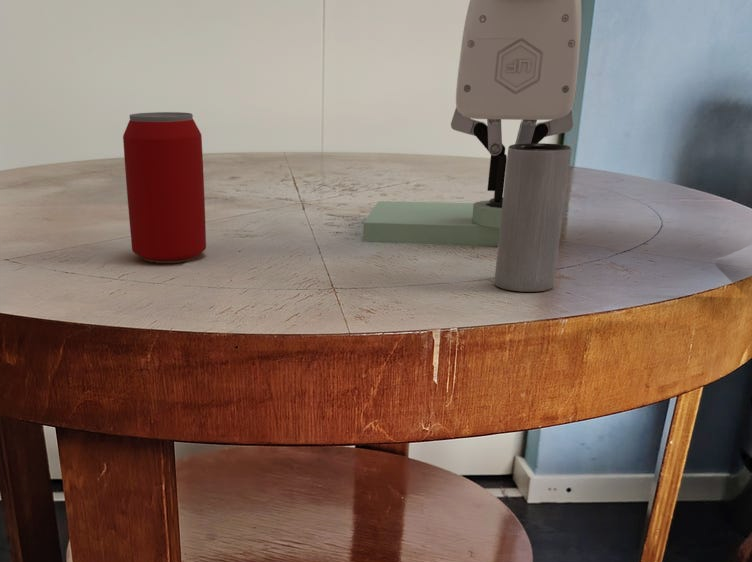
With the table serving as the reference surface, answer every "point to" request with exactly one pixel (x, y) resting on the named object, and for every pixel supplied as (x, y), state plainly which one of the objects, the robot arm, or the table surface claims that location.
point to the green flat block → (433, 223)
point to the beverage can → (165, 186)
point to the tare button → (495, 203)
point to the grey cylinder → (532, 216)
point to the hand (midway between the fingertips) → (502, 199)
